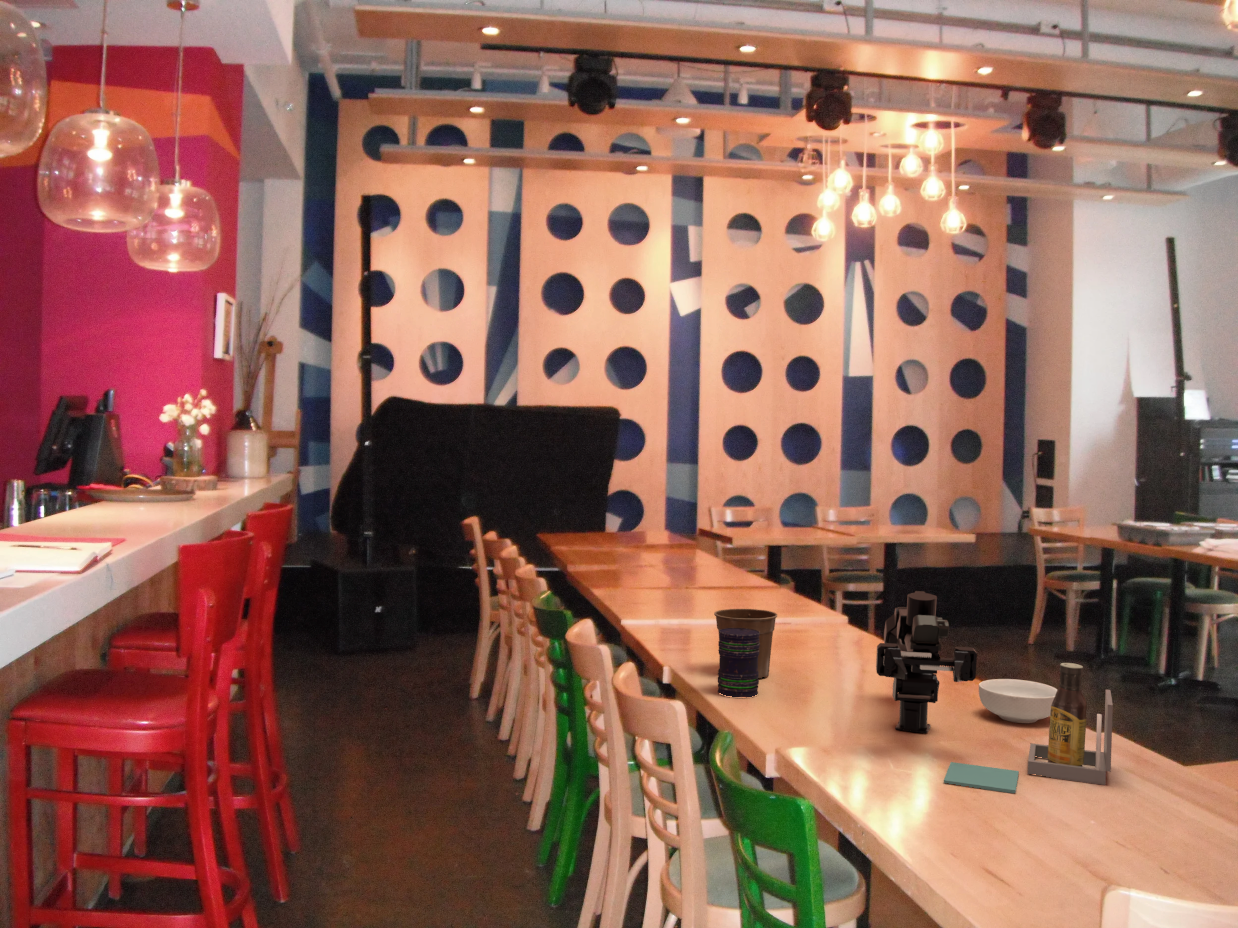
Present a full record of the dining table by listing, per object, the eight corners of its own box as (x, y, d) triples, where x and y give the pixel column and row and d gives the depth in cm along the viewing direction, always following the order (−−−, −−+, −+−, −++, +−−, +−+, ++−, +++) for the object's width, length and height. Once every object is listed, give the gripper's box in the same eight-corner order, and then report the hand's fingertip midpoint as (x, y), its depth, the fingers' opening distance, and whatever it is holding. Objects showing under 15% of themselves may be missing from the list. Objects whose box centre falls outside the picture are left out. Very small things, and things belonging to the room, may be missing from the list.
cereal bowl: (964, 717, 233) (965, 685, 233) (998, 705, 245) (999, 675, 245) (1039, 733, 221) (1040, 700, 221) (1071, 719, 233) (1072, 688, 233)
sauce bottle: (1040, 766, 198) (1043, 661, 198) (1066, 763, 200) (1069, 659, 200) (1066, 776, 192) (1069, 668, 191) (1092, 773, 194) (1095, 666, 194)
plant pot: (706, 678, 266) (707, 615, 266) (720, 666, 282) (722, 606, 281) (769, 684, 261) (771, 620, 261) (780, 671, 276) (782, 610, 276)
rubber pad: (950, 764, 197) (950, 761, 197) (1018, 774, 193) (1018, 770, 193) (943, 783, 186) (943, 780, 186) (1015, 793, 182) (1015, 790, 182)
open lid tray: (1030, 755, 204) (1032, 681, 204) (1107, 765, 199) (1110, 689, 199) (1027, 774, 192) (1029, 696, 192) (1110, 785, 187) (1112, 705, 187)
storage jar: (753, 700, 245) (755, 636, 245) (712, 695, 248) (714, 633, 248) (762, 690, 254) (763, 629, 254) (722, 686, 257) (724, 626, 257)
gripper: (875, 608, 212) (882, 634, 197) (971, 612, 209) (985, 639, 194) (873, 660, 214) (879, 690, 199) (968, 664, 211) (981, 696, 196)
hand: (931, 678), depth 197 cm, fingers open, 9 cm apart
